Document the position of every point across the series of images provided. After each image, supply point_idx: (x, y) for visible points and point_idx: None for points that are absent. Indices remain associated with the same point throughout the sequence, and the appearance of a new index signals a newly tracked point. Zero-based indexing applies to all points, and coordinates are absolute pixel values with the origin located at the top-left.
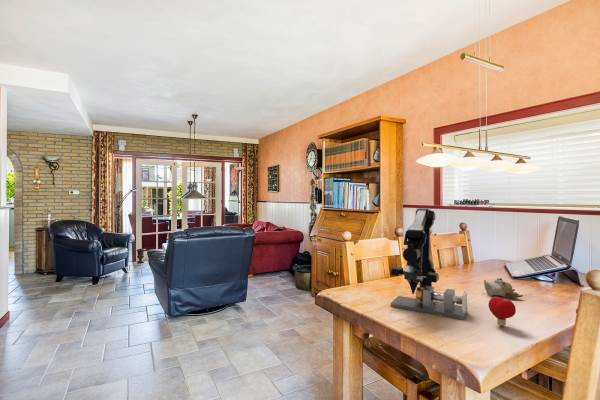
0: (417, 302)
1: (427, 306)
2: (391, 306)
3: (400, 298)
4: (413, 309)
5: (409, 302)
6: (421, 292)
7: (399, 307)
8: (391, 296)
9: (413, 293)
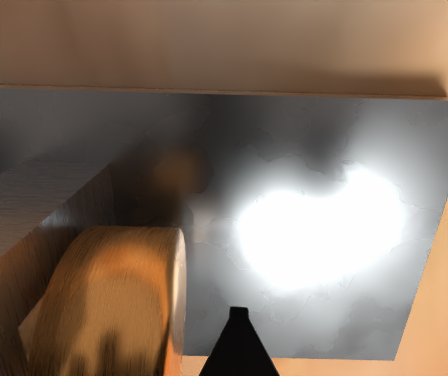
0: (195, 267)
1: (52, 167)
2: (441, 96)
3: (370, 300)
4: (198, 91)
5: (268, 230)
6: (60, 295)
7: (353, 94)
8: (440, 363)
9: (230, 313)
